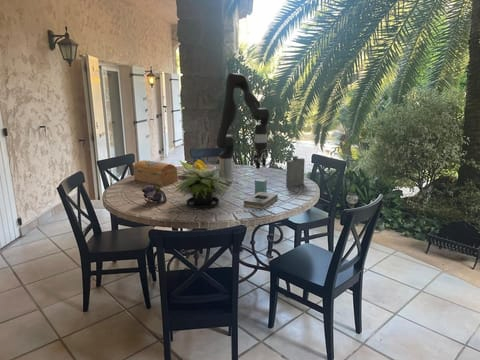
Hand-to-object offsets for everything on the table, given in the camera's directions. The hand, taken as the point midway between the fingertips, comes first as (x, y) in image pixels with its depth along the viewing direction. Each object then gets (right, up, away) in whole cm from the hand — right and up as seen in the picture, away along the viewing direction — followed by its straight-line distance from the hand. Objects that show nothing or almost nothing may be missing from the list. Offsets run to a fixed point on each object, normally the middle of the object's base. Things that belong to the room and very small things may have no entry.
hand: (260, 167), depth 217 cm
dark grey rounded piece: (-63, -21, -14) cm, 68 cm away
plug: (0, -16, +4) cm, 16 cm away
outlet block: (-1, -21, -15) cm, 26 cm away
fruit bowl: (-46, -4, +52) cm, 69 cm away
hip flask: (+24, -12, +20) cm, 33 cm away
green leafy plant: (-42, -13, +18) cm, 48 cm away
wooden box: (-74, -9, +37) cm, 83 cm away
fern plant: (-34, -22, -17) cm, 44 cm away
